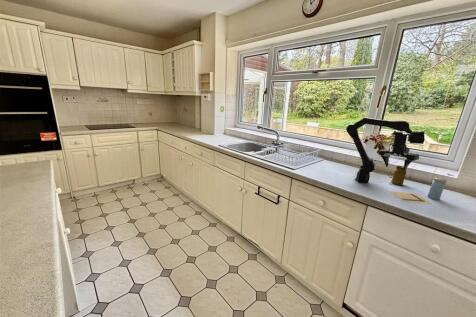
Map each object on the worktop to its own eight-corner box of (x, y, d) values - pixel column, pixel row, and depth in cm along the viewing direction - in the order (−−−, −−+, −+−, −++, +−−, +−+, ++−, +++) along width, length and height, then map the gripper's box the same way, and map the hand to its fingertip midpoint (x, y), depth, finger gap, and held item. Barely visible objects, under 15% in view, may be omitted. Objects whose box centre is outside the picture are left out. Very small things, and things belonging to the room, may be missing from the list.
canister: (434, 201, 111) (442, 180, 108) (424, 197, 116) (431, 177, 113) (441, 200, 113) (449, 180, 109) (431, 196, 117) (438, 176, 114)
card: (403, 202, 108) (403, 201, 108) (387, 191, 120) (387, 191, 120) (433, 205, 107) (433, 204, 107) (414, 194, 120) (414, 193, 119)
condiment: (392, 181, 138) (397, 164, 135) (407, 185, 132) (413, 167, 129) (388, 183, 134) (393, 166, 130) (404, 188, 128) (410, 169, 124)
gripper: (426, 143, 115) (421, 170, 119) (389, 139, 131) (385, 163, 135) (416, 145, 110) (411, 173, 114) (379, 141, 126) (376, 165, 130)
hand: (395, 168), depth 123 cm, fingers open, 9 cm apart
